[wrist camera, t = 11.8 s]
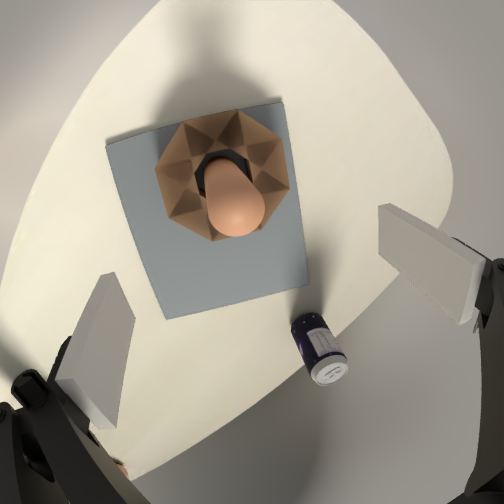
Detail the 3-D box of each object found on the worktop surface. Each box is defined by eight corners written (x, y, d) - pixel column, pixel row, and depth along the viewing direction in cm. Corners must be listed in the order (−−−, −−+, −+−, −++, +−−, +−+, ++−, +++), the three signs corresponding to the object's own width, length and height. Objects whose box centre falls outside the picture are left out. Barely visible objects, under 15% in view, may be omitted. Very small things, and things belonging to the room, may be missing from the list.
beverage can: (283, 321, 47) (306, 375, 36) (313, 303, 47) (343, 353, 36) (298, 341, 50) (321, 392, 39) (326, 324, 49) (355, 373, 38)
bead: (180, 237, 38) (178, 250, 34) (151, 130, 31) (145, 132, 28) (285, 211, 39) (294, 221, 35) (267, 104, 32) (275, 102, 29)
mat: (166, 317, 43) (166, 319, 42) (106, 145, 31) (105, 146, 31) (307, 282, 45) (309, 284, 44) (281, 102, 33) (283, 102, 32)
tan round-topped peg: (207, 191, 36) (215, 242, 21) (200, 159, 34) (201, 189, 20) (239, 183, 36) (269, 229, 22) (232, 152, 34) (259, 176, 20)
